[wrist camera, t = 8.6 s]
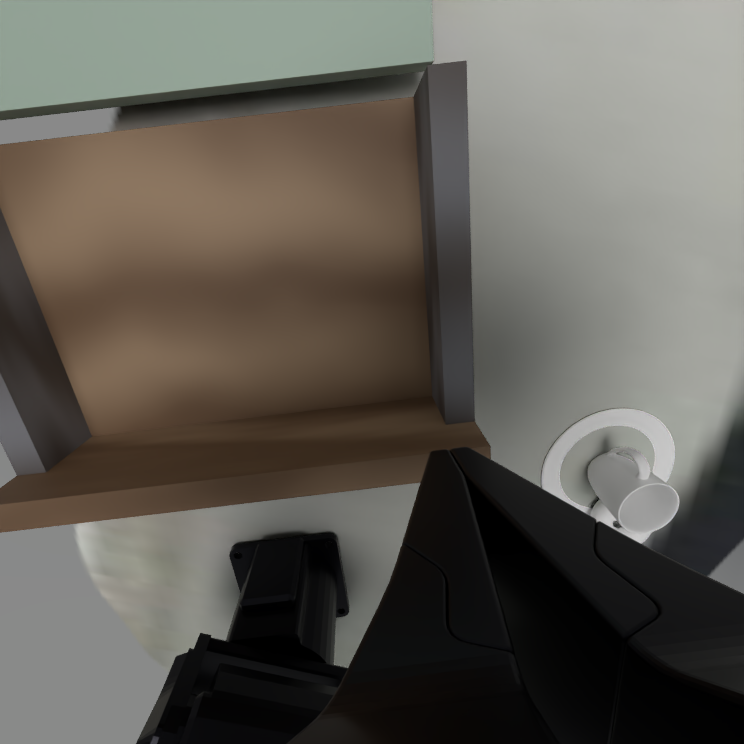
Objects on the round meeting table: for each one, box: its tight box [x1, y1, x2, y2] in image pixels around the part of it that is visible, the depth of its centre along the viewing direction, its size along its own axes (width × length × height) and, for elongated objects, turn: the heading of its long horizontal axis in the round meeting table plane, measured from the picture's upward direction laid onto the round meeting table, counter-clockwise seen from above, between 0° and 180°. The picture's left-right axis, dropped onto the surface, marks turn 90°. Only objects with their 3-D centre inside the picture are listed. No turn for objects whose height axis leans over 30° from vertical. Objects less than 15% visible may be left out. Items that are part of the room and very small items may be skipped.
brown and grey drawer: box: [0, 61, 491, 532], centre depth 16 cm, size 14×19×7 cm
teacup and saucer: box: [541, 408, 679, 543], centre depth 22 cm, size 9×8×4 cm
